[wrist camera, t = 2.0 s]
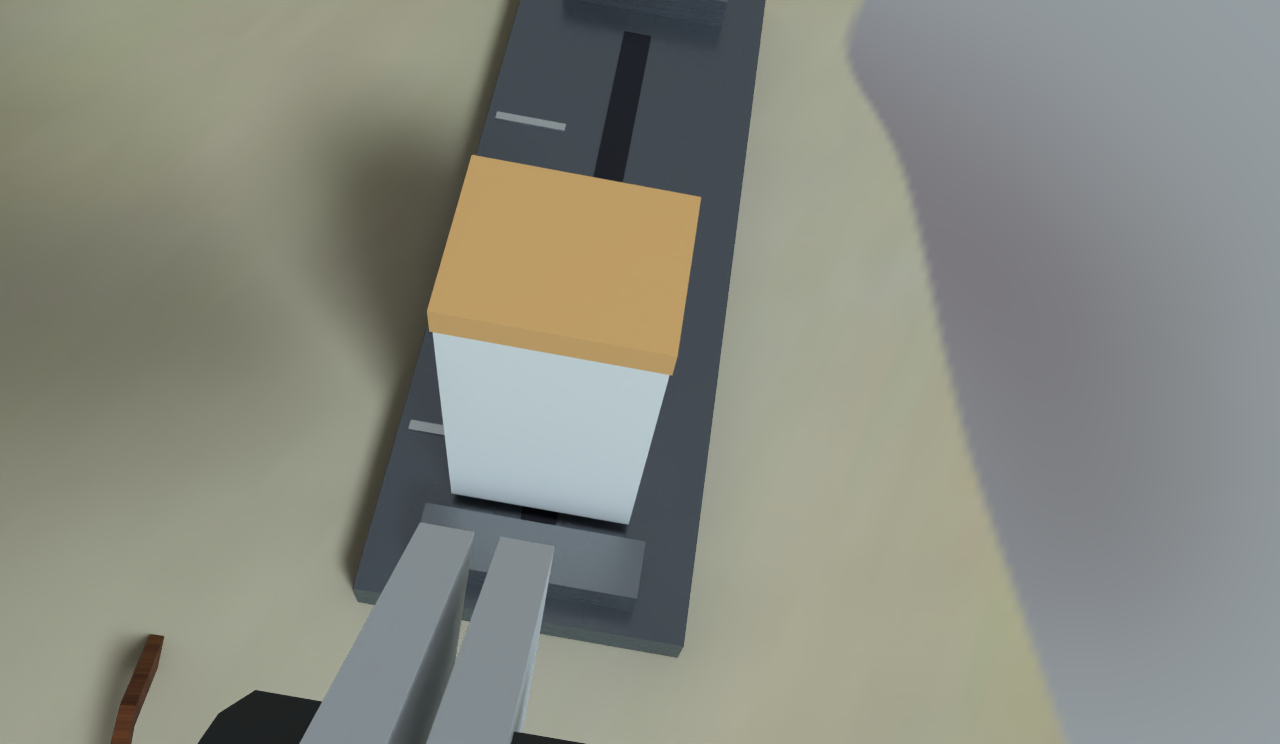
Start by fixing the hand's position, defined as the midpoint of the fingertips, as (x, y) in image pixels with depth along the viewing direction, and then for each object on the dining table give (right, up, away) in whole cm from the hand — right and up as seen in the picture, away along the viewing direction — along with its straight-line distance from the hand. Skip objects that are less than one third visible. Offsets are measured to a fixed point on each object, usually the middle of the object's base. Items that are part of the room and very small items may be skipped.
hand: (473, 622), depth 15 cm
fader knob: (0, +1, +16) cm, 16 cm away
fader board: (+1, +8, +21) cm, 23 cm away
